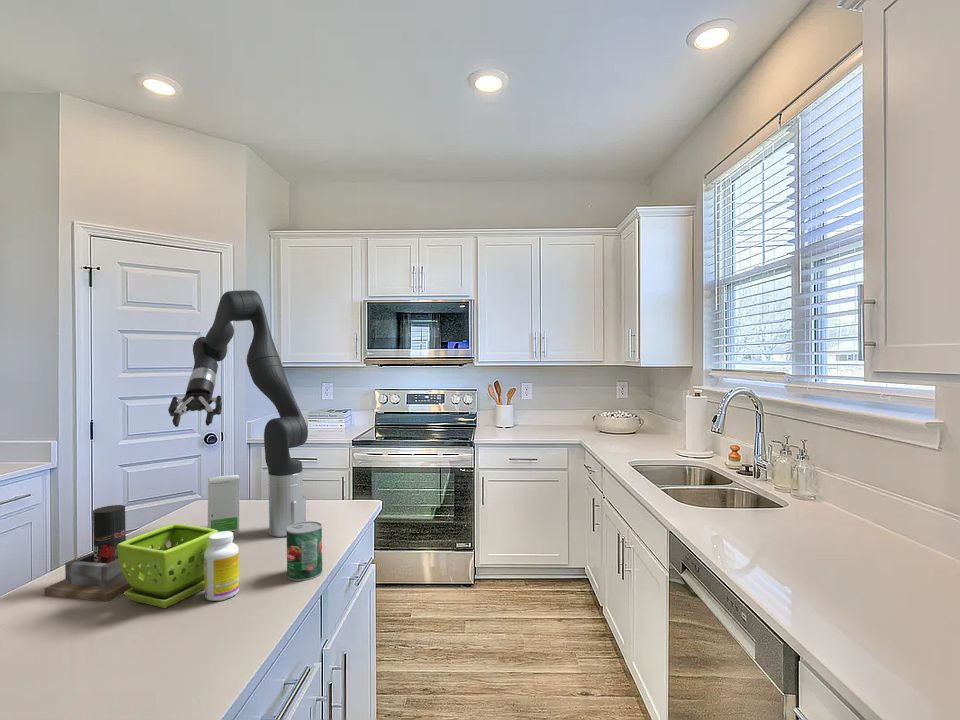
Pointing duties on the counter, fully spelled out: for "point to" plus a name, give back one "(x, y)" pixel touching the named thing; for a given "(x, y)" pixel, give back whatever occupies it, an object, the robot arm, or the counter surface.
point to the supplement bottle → (221, 567)
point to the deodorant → (108, 532)
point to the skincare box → (223, 503)
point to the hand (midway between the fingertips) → (191, 424)
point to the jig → (91, 580)
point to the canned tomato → (304, 550)
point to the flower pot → (165, 564)
